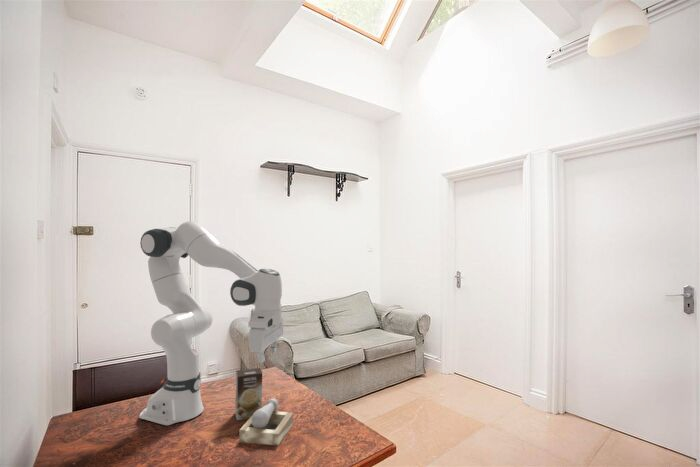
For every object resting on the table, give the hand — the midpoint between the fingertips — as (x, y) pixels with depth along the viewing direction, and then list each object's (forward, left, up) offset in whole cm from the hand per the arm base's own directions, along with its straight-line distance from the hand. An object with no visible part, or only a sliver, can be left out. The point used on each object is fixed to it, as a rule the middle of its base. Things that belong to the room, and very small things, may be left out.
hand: (267, 357), depth 118 cm
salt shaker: (-1, -5, -20) cm, 21 cm away
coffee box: (-12, +10, -26) cm, 30 cm away
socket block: (0, 0, -26) cm, 26 cm away
